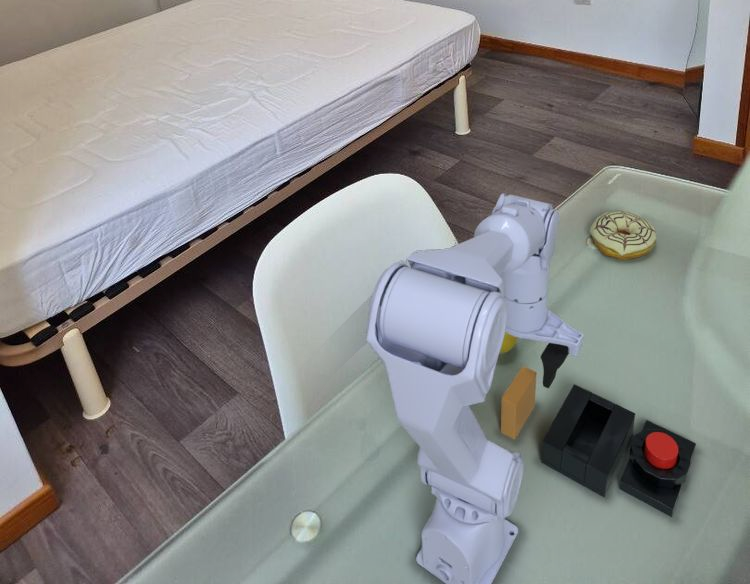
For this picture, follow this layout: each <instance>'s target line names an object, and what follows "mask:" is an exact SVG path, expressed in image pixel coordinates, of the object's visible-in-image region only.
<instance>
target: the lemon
mask: <svg viewBox="0 0 750 584" xmlns="http://www.w3.org/2000/svg"><path fill="white" fill-rule="evenodd" d="M517 341H518V337H514V336H512V335H510V334H508V333H506V332H505V335H504V339H503V343H502V346H501V349H500V352H499V354H505V353H508V352H509V351H511V350H512V349H513V348H514V347H515V345H516V344H517Z"/></svg>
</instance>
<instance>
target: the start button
mask: <svg viewBox="0 0 750 584" xmlns="http://www.w3.org/2000/svg"><path fill="white" fill-rule="evenodd" d="M644 453H645V456H646V458H647V460H648V461H649V462H650V463H651V464H652V465H654V466H655V467H657V468H661V469H669V468H672V467H673V466H674V465H675V464H676V461H677V456H678V446H677V444H676V442H675V441H674V439H672V438H671V437H670V436H669V435H667V434H665V433H661V432H653V433H651V434H649V435H648V436H647V438H646V442H645V448H644Z"/></svg>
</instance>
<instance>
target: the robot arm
mask: <svg viewBox="0 0 750 584" xmlns="http://www.w3.org/2000/svg"><path fill="white" fill-rule="evenodd" d="M559 225H560V211H559V210H558V209H554V207H553V204H552V203H547V202H543V201H540V200H535V199H531V198H527V197H522V196H519V195H515V194H508V195H507V194H506V193H503V192H502V193H500V196H499V197H498V199H497V201H496V204H495V206H494V207H493V209H492V210H491V214H490V215H489V216H487V217H486V218H484V219H483V220H481V221H480V222H479V223H478V225H477V226H476V228H475V231H474V234H473V237H472V238H469V239H467V240H465V241H463V242H460V243H458V244H456V245H454V246H451V247H449V248H444V249H435V250H428V251H427V250H426V251H419V252H418V251H417V252H412V253H411V254H410V255H409V256H407V257H406V261H407V262H408V263H409V266H410V267H409V266H408V265H407V264H406V263H404V262H401V261H400V262H398V261H397V262H394V263H393V264H391V265H390V266H389V267H388V268H386V269H384V271H383V272H382V273H381V275H380V276H379V278H378V279H377V282H376V284H375V286H374V288H373V291H372V294H371V296H370V297H371V298H370V301H369V306H368V317H367V324H366V337H365V340H366V342H367V344H368V345H369V346H370V348H371V349H372V350H373V352H374V353H375V355H376V356H377V357H378V359H379V360H380V361H381V363H382V364H383V366H385V369H386V374H387V378H388V383H389V388H390V392H391V397H392V402H393V407H394V410H395V415H396V418H397V420H398V423H399V424H400V425H401V426H402V427H403V430H405V431H406V432H407V434H408V435H409V436H410V438H411V439H413V441H414V442H415V443H416V444H417V446H418V447H419V449H418V453H417V457H416V458H417V461H416V464H417V466H418V474H419V476H420V480H421V483H422V484H423V485H426V486H430V487H431V488H430V489H431V490H430V491H431V494H432V495H433V496H435V497H436V499H435V503H434V507H433V509H432V512H431V514H430V516H429V517H428V520H427V521H426V523H425V524H424V526H423V528H422V531H421V535H420V536H421V548H420V550H419V551H418V553H417V554H416V557H415V560H416V563H417V564H418V565H419V566H421V567H422V568H423V569H425V570H426V571H428V572H429V573H431V574H432V575H433V576H434V577H436V578H437V579H439V580H440V581H441V582H443V583H444V584H493V582H494V580H495V578H496V576H497V574H498V572H499V570H500V568H501V567H502V565H503V563H504V561H505V559H506V557H507V556H508V553H509V551H510V549H511V548H512V546H513V544H514V542H515V540H516V538H517V536H518V534H519V527H518V526H517V525H515V524H514V523H512V522H511V521H509V520H507V518H508V517H509V516H511V514H512V513H513V511H514V508H515V506H516V504H517V500H518V497H519V494H520V489H521V485H522V480H523V476H524V467H525V466H524V460H523V458H522V455H521V453H520V452H518V451H515V450H514V451H511V450H509V449H506V448H503V447H502V446H500V445H498V444H496V443H494V442H493V441H491V440H490V439H488V438H487V436H486V434H485V433H484V431H483V429H482V427H481V425H480V424H479V421H478V419H477V418H476V416H475V413H474V412H473V410H472V408H471V407H470V406H472V405H476V404H480V403H484V402H485V401H486V398H487V394H488V393H489V391H490V390H491V387H492V383H493V379H494V375H495V370H496V367H497V362H498V358H499V356H500V353H499V352H500V349H501V346H502V343H503V339H504V335H505V332H506V333H508V334H510V335H512V336H514V337H518V338H519V339H524V340H529V341H536V342H542V343H548V344H546V346H545V348H544V349H543V351H542V353H541V354H540V361H541V364H542V368H543V374H542V375H543V376H542V386H543V387H544V388H545V389H550V387H551V386H552V385H553V383H554V381H555V378H556V375H557V372H558V370H559V369H560V368H561V367H562V365H563V364H564V363H565V361H566V360H567V358H568V356H569V355H571V356H573V357H576V358H577V357H578V355H579V354H580V352H581V350H582V348H583V346H584V339H585V338H584V337H585V334H584V333H582V332H581V331H578V330H577V329H575V328H573V327H572V326H571V325H569V324H568V323H567V322H565V321H564V320H563V319H561V317H559V316H558V315H557V314H555V313H554V312H553V311H552V310H550V309H549V308H548V301H549V282H550V280H549V279H550V267H551V266H550V265H551V261H552V258H553V256H554V251H555V245H556V239H557V236H558V232H559Z"/></svg>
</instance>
